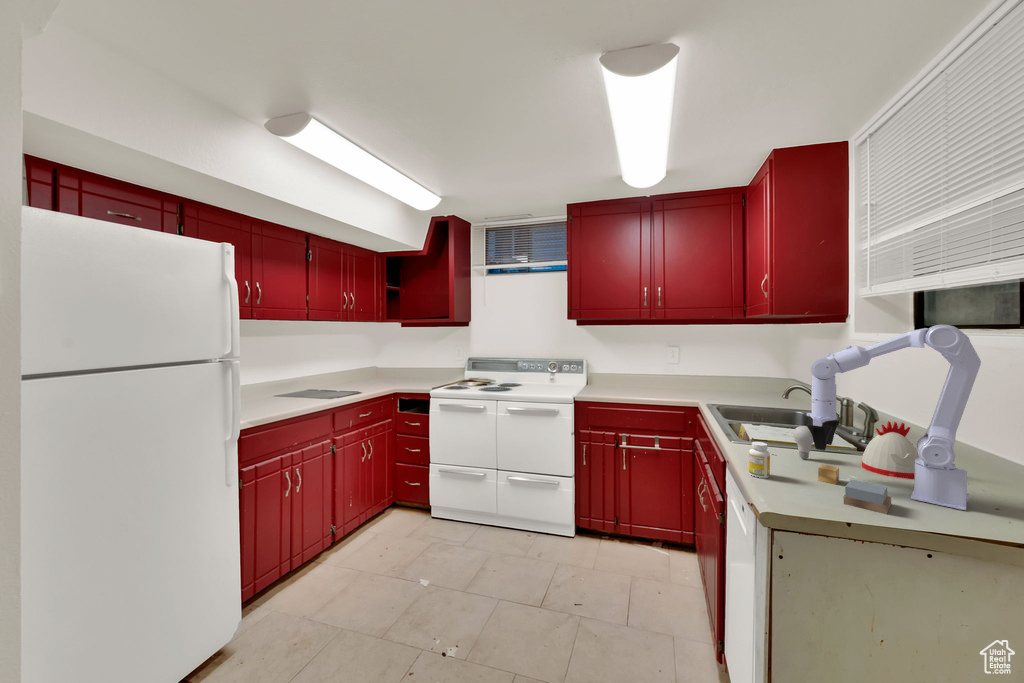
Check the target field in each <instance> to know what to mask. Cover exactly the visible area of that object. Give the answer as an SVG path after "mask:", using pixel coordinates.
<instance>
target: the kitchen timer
mask: <svg viewBox="0 0 1024 683" xmlns="http://www.w3.org/2000/svg"><path fill="white" fill-rule="evenodd" d="M886 423H887V424H886V425H884V424H881V429H882V431H881V430H879V428H877V427H875V430H876V432H877V435H876V436H874V437H873V438H872V439H871V440H870V441H869V442H868V444H867V445H866V447H865V450H864V452H863V454H862V456H861V467H862V469H864V470H866V471H869V472H872V473H875V474H878V475H882V476H887V477H890V478H891V477H892V478H899V479H912V480H913V479H914V480H915V459H917V458H919V453H918V449H917V447H915V445H914V444H913V443H912V442H911V441H910V440H909V439H908V438H907V437H906V436H907V435H908V433H909V432H910V430H911V427H910V426H907V427H906V428H905V426H906V425H905V423H904V422H901V424H900V425H899V426H898V423H897V422H896V421H894V422H893V426H892V423H891V421H890V420H889V421H887V422H886Z"/></svg>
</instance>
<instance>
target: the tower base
mask: <svg viewBox="0 0 1024 683" xmlns="http://www.w3.org/2000/svg"><path fill="white" fill-rule="evenodd" d="M843 505H847V506H850V507H854V508H859V509H862V510H865V511H866V510H867V511H870V512H876V513H879V514H884V515H888V512H889V510H890V508H891V506H892V496H891V495H887V498H886V500H885V502H884V504H883V505H880V504H876V503H871V502H867V501H862V500H858V499H854V498H849V497H845V494H844V496H843Z"/></svg>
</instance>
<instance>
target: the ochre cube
mask: <svg viewBox="0 0 1024 683" xmlns="http://www.w3.org/2000/svg"><path fill="white" fill-rule="evenodd" d="M817 469H818V477H817V482H820V483H826V484H830V485H835V486H836V485H837V484H838V483H839V482H840V466H839V467H838V466H832V465H827V464H820V466H818V468H817Z"/></svg>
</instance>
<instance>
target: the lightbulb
mask: <svg viewBox="0 0 1024 683" xmlns="http://www.w3.org/2000/svg"><path fill="white" fill-rule="evenodd" d="M792 437H793V439H794V441H795V442H796V445H797V448H798V454H799V455H798V456H799V458H801V460H807V459H809V456H810V452H811V451H810V450H811V447H812V446H813V445H812V444H814V441H813V437H812V434H811V432H810V430H809V429H808V427H807V425H800V426H797V427H796V428H794V429H793V433H792Z"/></svg>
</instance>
